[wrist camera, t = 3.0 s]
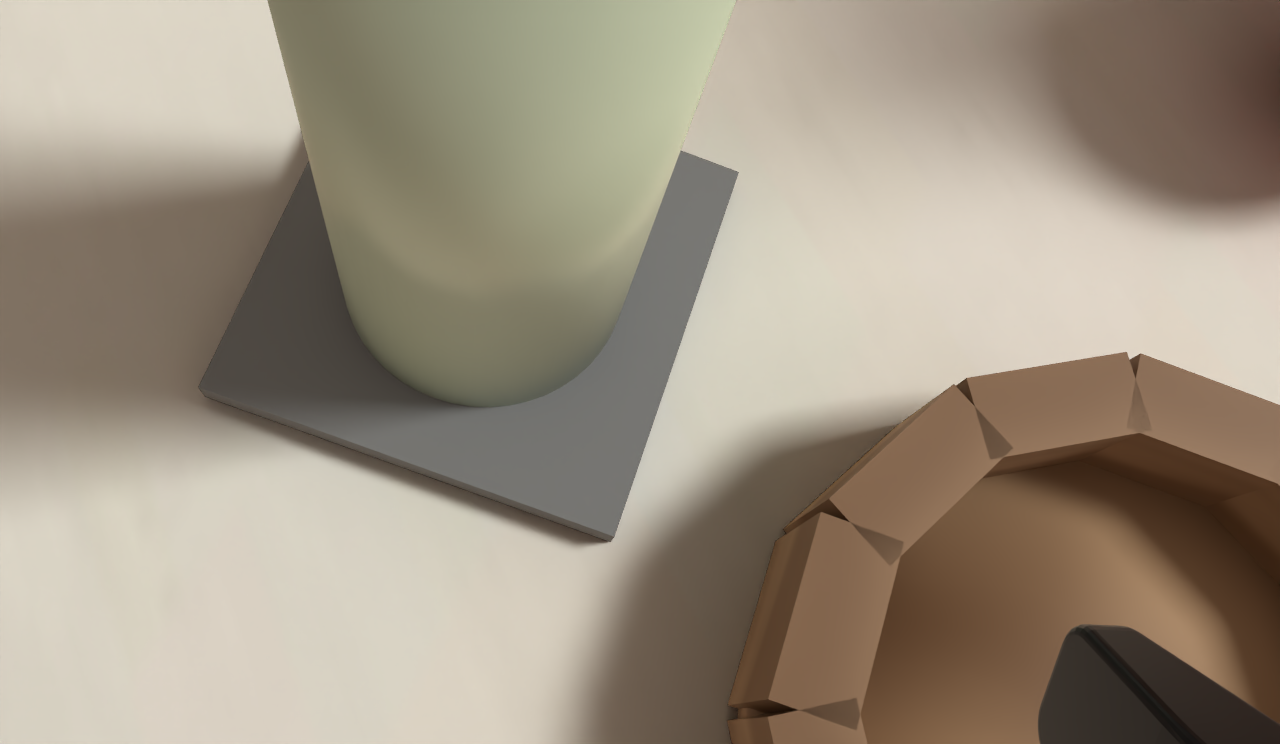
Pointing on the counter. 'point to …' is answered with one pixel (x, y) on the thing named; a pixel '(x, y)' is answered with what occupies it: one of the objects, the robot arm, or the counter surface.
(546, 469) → the mat
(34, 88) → the counter surface
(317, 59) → the candle
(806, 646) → the bowl
